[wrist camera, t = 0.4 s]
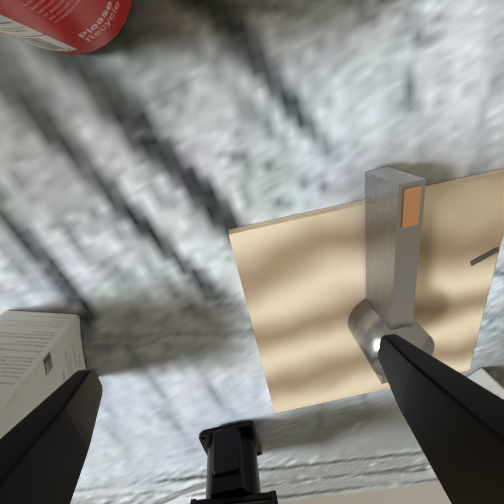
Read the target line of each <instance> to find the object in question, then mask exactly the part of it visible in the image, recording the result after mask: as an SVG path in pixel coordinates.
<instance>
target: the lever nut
mask: <svg viewBox="0 0 504 504" xmlns="http://www.w3.org/2000/svg"><path fill="white" fill-rule="evenodd" d="M425 189H426V178H423V177H419V176H416V175H413V174H410V173H407V172H403V171H400V170H397V169H394V168H391V167H384V168H380V169H375V170H371V171H366V172H365V219H366V300H364V301H362V302H361V303H359V304H358V305H357V306H356V307H355V308H354V309H353V310H352V312H351V313H350V315H349V318H348V328H349V330H350V332H351V333H352V335H353V337H354V339H355V340H356V342H357V344H358V345H359V347H360V349H361V350H362V352H363V354H364V355H365V357H366V359H367V360H368V362H369V364H370V365H371V367H372V369H373V370H374V372H375V374H376V375H377V377H378V379H379V380H380V382H381V384H384V383H388V381H387V378H386V376H385V374H384V371H383V369H382V367H381V364H380V362H379V359H378V350H379V345H380V341H381V337H382V336H383V335H387V334H397V335H399V336H400V337H402V338H403V339H405V340H407V341H408V342H410V343H412V344H413V345H415V346H417V347H418V348H420V349H422V350H423V351H425V352H426V353H428V354H430V355H431V356H432V354H433V352H434V347H435V344H434V340H433V339H432V337H431V336H430V335H429V334H428V333H427V332H426V331H425V330H424V329H423V328H422V327H421V326H420V324H419V323H418V322H417V321H416V320H415V319H414V318H413V311H414V301H415V291H416V281H417V271H418V260H419V250H420V240H421V230H422V220H423V210H424V199H425Z"/></svg>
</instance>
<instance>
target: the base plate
mask: <svg viewBox="0 0 504 504" xmlns="http://www.w3.org/2000/svg"><path fill="white" fill-rule="evenodd" d="M503 232H504V169H499V170H495V171H490V172H486V173H481V174H477V175H472V176H468V177H463V178H459V179H454V180H450V181H445V182H441V183H436V184H432V185H427V186H426V189H425V199H424V210H423V220H422V230H421V240H420V250H419V260H418V271H417V281H416V291H415V301H414V311H413V318H414V319H415V320H416V321H417V322H418V323H419V324H420V326H421V327H422V328H423V329H424V330H425V331H426V332H427V333H428V334H429V335H430V336H431V337H432V339H433V340H434V344H435V347H434V352H433V354H432V356H433V357H435V358H436V359H438V360H440V361H441V362H443V363H444V364H446V365H448V366H449V367H451V368H453V369H454V370H456V371H458V372H463V371H467V370H469V368H470V364H471V360H472V356H473V352H474V348H475V344H476V340H477V336H478V332H479V328H480V324H481V320H482V316H483V312H484V308H485V304H486V300H487V296H488V292H489V288H490V284H491V280H492V276H493V272H494V268H495V264H496V260H497V256H498V252H499V248H500V244H501V240H502V236H503ZM229 236H230V240H231V244H232V248H233V252H234V256H235V260H236V264H237V268H238V272H239V275H240V279H241V283H242V287H243V291H244V295H245V299H246V303H247V307H248V311H249V314H250V318H251V322H252V326H253V330H254V334H255V338H256V342H257V346H258V349H259V353H260V357H261V361H262V365H263V369H264V373H265V377H266V381H267V385H268V388H269V392H270V396H271V400H272V404H273V408H274V412H275V413H279V412H283V411H288V410H292V409H297V408H301V407H306V406H310V405H315V404H319V403H324V402H328V401H333V400H337V399H341V398H346V397H350V396H355V395H359V394H364V393H368V392H373V391H377V390H382V389H386V388H390V385H389V383H384V384H381V382H380V380H379V379H378V377H377V375H376V374H375V372H374V370H373V369H372V367H371V365H370V364H369V362H368V360H367V359H366V357H365V355H364V354H363V352H362V350H361V349H360V347H359V345H358V344H357V342H356V340H355V339H354V337H353V335H352V333H351V332H350V330H349V328H348V318H349V315H350V313H351V312H352V310H353V309H354V308H355V307H356V306H357V305H358V304H359V303H361V302H362V301H364V300H366V219H365V199H364V200H360V201H355V202H351V203H346V204H342V205H337V206H333V207H328V208H324V209H319V210H315V211H310V212H306V213H301V214H297V215H292V216H288V217H283V218H279V219H274V220H270V221H265V222H261V223H256V224H251V225H247V226H242V227H238V228H233V229H229Z"/></svg>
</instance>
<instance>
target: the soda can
mask: <svg viewBox="0 0 504 504" xmlns="http://www.w3.org/2000/svg"><path fill="white" fill-rule="evenodd" d="M132 2H133V0H0V33H2V34H5V35H8V36H10V37H13V38H16V39H18V40H21V41H24V42H27V43H29V44H32V45H35V46H37V47H40V48H43V49H46V50H50V51H53V52H57V53H64V54H84V53H89V52H92V51H95V50H98V49H100V48H102V47H103V46H105V45H107V44H108V43H109V42H110V41H112V40H113V39H114V38H115V37H116V36H117V34H118V33H119V32H120V30H121V29H122V27H123V26H124V24H125V22H126V20H127V18H128V15H129V13H130V9H131V6H132Z"/></svg>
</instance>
